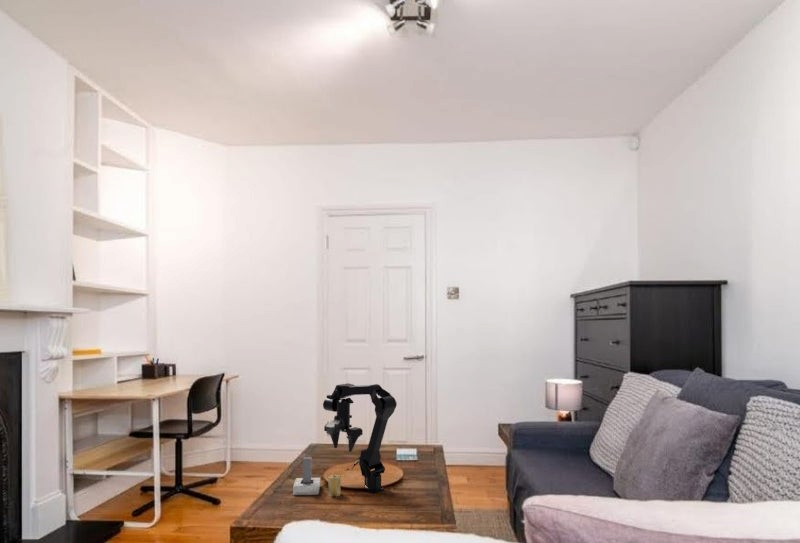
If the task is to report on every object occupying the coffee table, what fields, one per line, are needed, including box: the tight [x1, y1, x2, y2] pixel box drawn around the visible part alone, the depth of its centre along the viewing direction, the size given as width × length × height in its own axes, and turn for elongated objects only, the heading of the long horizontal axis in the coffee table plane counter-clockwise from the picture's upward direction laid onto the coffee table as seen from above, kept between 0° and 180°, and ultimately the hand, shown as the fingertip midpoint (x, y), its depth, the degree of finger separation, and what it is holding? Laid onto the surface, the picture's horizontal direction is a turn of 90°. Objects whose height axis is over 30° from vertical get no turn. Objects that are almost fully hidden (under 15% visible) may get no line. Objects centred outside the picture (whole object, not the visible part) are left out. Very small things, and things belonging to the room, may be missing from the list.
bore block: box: [292, 477, 321, 496], centre depth 212 cm, size 10×10×4 cm
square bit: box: [302, 456, 313, 484], centre depth 212 cm, size 3×3×13 cm
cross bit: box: [327, 474, 341, 498], centre depth 207 cm, size 5×5×7 cm
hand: (342, 449), depth 225 cm, fingers open, 9 cm apart
